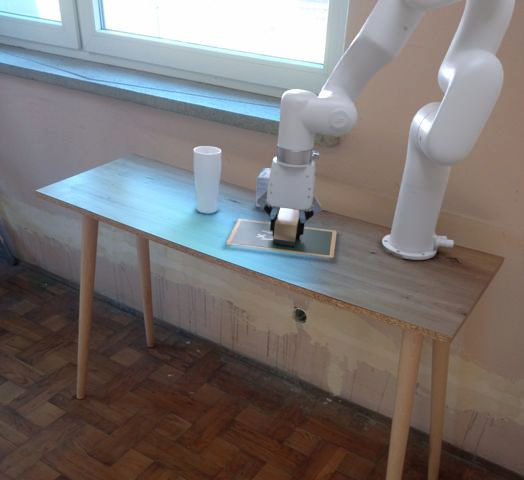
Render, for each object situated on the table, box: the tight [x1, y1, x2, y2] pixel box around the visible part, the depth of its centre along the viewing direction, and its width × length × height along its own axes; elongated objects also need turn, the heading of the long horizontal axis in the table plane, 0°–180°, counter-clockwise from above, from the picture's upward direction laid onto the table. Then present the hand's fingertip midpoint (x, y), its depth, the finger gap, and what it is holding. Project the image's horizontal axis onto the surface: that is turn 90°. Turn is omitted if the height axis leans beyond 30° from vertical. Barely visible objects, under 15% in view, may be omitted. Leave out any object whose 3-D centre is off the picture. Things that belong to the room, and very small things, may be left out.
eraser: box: [273, 208, 300, 247], centre depth 127 cm, size 5×10×5 cm, turn 171°
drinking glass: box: [192, 145, 222, 215], centre depth 136 cm, size 7×7×15 cm
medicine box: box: [255, 167, 273, 208], centre depth 144 cm, size 8×4×9 cm, turn 168°
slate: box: [225, 218, 338, 259], centre depth 129 cm, size 24×15×1 cm, turn 81°
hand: (286, 234), depth 128 cm, fingers closed on eraser, 4 cm apart
